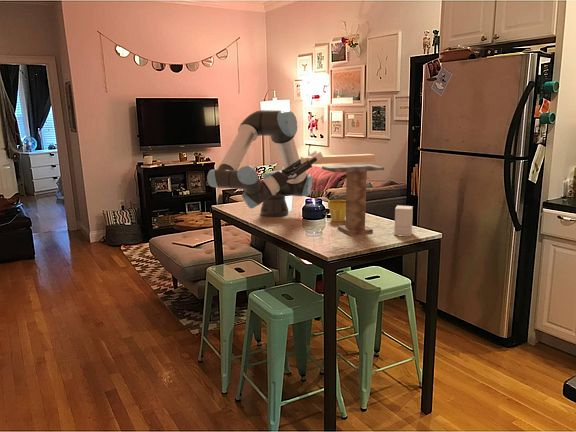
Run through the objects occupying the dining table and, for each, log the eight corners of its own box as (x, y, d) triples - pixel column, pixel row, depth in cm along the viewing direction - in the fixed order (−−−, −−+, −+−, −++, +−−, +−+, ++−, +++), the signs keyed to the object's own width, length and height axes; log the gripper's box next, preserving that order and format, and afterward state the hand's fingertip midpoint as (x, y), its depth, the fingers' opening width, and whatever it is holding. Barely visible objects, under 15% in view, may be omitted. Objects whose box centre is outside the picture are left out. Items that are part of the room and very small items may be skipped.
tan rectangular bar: (304, 164, 207) (304, 157, 206) (300, 163, 211) (300, 156, 210) (375, 161, 218) (375, 154, 217) (370, 160, 222) (370, 153, 221)
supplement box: (412, 233, 221) (413, 205, 218) (410, 237, 214) (412, 209, 211) (395, 231, 223) (396, 205, 220) (393, 235, 216) (394, 208, 213)
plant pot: (324, 221, 244) (325, 202, 241) (331, 217, 253) (332, 199, 251) (344, 223, 239) (344, 204, 237) (350, 219, 248) (351, 200, 246)
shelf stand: (333, 237, 214) (334, 169, 207) (321, 230, 226) (322, 166, 220) (381, 232, 221) (384, 167, 215) (366, 225, 234) (368, 164, 228)
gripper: (273, 187, 216) (315, 159, 220) (286, 193, 200) (331, 163, 204) (265, 172, 213) (307, 144, 217) (277, 178, 197) (323, 148, 201)
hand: (319, 153), depth 210 cm, fingers closed on tan rectangular bar, 4 cm apart
